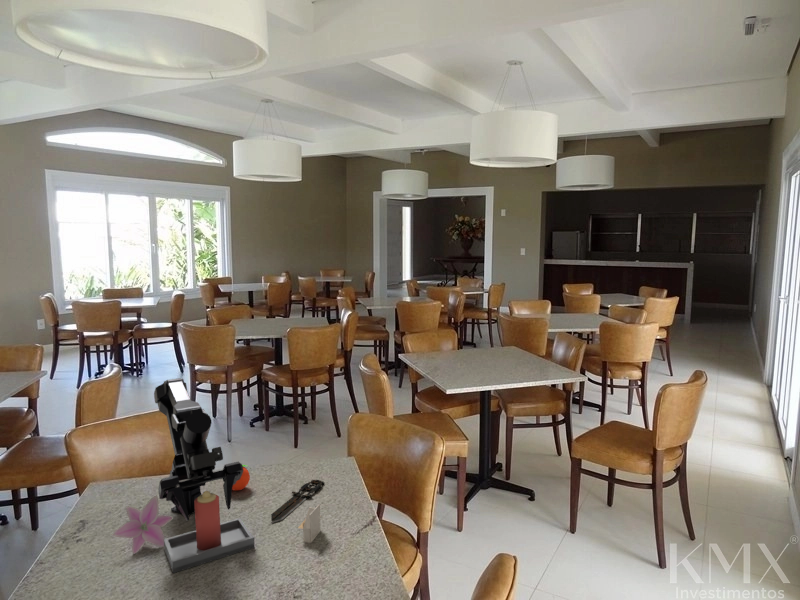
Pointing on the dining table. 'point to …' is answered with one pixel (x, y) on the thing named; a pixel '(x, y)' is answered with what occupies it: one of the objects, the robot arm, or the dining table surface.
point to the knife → (293, 500)
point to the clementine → (242, 480)
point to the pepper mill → (207, 521)
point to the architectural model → (311, 524)
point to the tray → (188, 555)
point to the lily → (144, 525)
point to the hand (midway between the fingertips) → (209, 514)
